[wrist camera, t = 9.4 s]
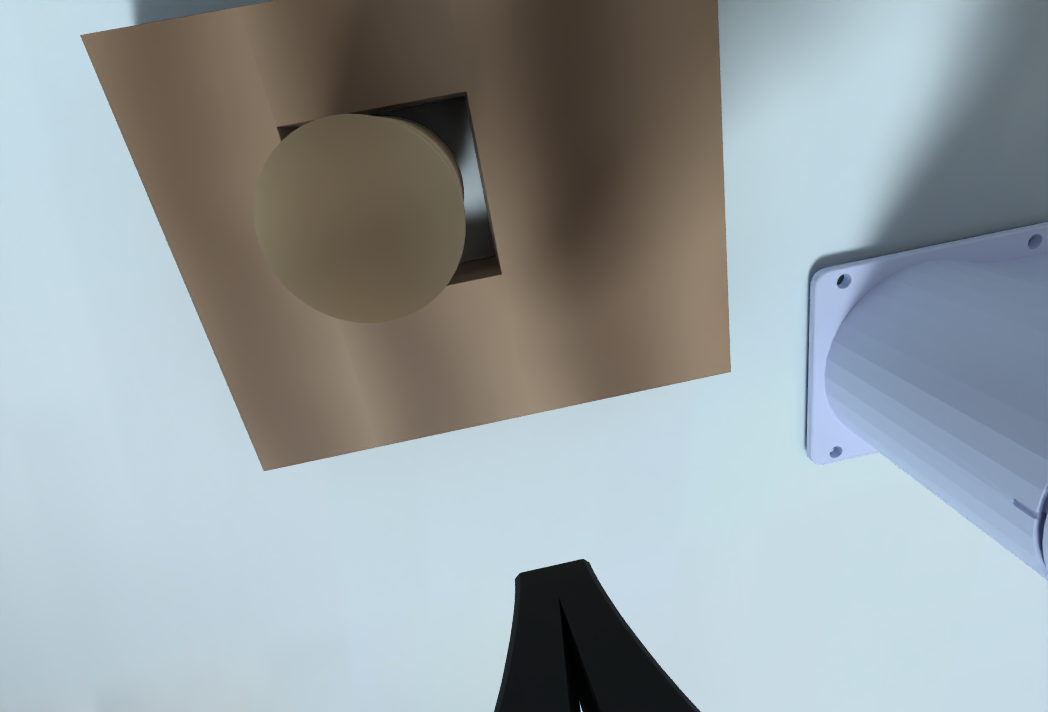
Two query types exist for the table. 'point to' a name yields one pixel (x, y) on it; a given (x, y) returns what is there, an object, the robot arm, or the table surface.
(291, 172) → the peg
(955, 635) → the table surface
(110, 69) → the board
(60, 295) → the table surface
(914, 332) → the robot arm
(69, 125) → the table surface
